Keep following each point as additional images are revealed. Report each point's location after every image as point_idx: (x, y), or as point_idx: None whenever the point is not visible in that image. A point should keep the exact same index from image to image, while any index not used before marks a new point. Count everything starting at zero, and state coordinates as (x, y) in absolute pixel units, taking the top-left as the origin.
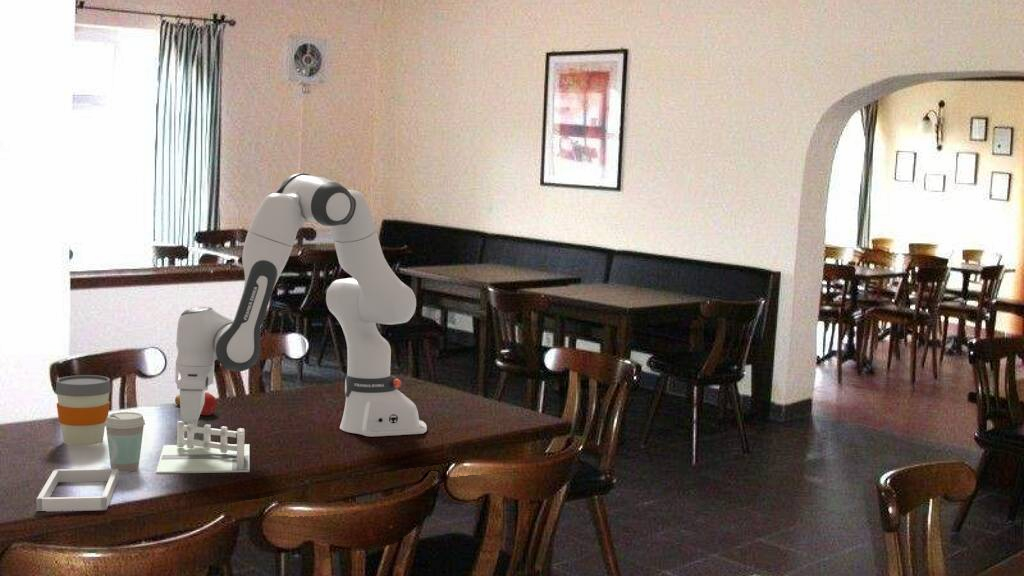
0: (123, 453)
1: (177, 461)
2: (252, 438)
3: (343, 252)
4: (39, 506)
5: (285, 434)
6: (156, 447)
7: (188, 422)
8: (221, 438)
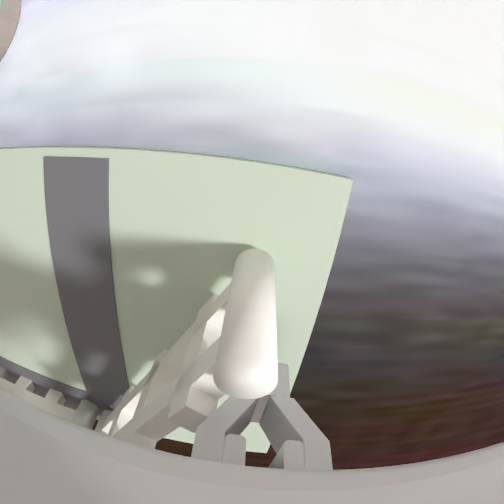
0: None
1: (21, 225)
2: (353, 453)
3: None
4: None
5: None
6: (348, 136)
7: (213, 413)
8: (113, 429)
